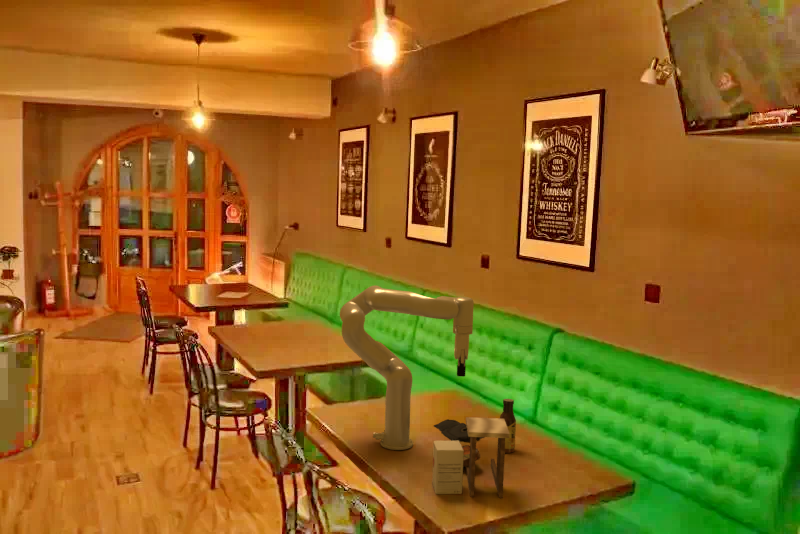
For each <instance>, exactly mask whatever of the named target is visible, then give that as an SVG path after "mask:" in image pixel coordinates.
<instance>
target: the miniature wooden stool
mask: <svg viewBox="0 0 800 534" xmlns="http://www.w3.org/2000/svg"><path fill="white" fill-rule="evenodd" d="M465 424H466V426H467V431H468V436H469V437H470V442H469V446H470V458H469V465H468V466H464V467H465V472H466V478H467V485H468V492H469V496H470V498H474V497H475V486H476V485H475V482H476V480H475V479H476V477H475V476H476V461H475V460H476V448H477V440H476V437H485V438H493V439H495V438H497V451H496V452H497V454H496V455H497V456H496V460H495V458H490V468H491V472H492V476H493V477H492V478H493V479H494V484H495V488H496V493H497V496H498V498H499V499H503V497H504V478H505V476H504V475H505V473H504V472H505V458H506V457H505V454H506V453H505V438H509V437H510V433H509V431H508V428H507V425H506V422H505V420H504V419H500V417H499V418H496V417H494V418H493V417H491V418H490V417H469V416H466V417H465Z"/></svg>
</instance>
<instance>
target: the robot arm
mask: <svg viewBox="0 0 800 534" xmlns="http://www.w3.org/2000/svg"><path fill="white" fill-rule="evenodd" d="M474 302H475V301H474V299H473V298H471V297H468V296H459V297H458V296H457V297H452V296H446V295H441V296H437V297H436V298H434V297H428V296H424V295H422V294H419V293H417V292H414V291H408V290H398V289H392V288H383V287H381V286H379V285H371V286H368V287H367V288H365V289H364V290H362V292H360V293H358V294H357V295H355V297H353V298H351V299H350V300H348V301H347V302H346V303H344V305H342V307H341V308H340V310H339V318H340V319H341V323H342V324H341V335H342V339H343V341H344V343H345V345H346V346H347V347H348V348H349V349H350V350H352V351H353V352H354V353H355V354H356V355H357V356H358V357H359V358H360V359H361V360H362V361H363V362H364V363H366V364H367V366H368V367H370V368H371V369H372V370H374V371H376V372H377V373H378V374H379V375H380V376H382V377H383V378H384V379H385V380H386V392H385V411H384V414H385V415H384V430H383V431H381V432H372V438H375V440H380V446H381V447H383V448H385V449H388V450H392V451H394V450H395V451H405V450H407V449H411V448H412V447H413V446H414V440H413V439H411V438H410V430H411V427H410V425H411V396H412V389H413V375H412V371H411V369H410V368H409V367H408V366H407V365H406V363H405V362H404V361H403V360H401V359H400V358H399V357H398V356H397V355H396V354H395V353H394V352H392V351H391V350H390V349H389V348H388V347H387V346H386V345H384V344H383V343H382V342H380V341H378V340H377V341H376V340H375V339H374V338H373V337H372V336H371V335H370V334H369V333H368V332H366V329H365V328H364V327H365V322H366V316H367V315H368V314H369V313H371V312H372V311H379V312H387V313H388V312H389V313H396V314H398V313H399V314H403V315H404V314H405V315H410V316H416V317H417V316H418V317H424V318H429V319H436V320H438V319H439V320H452V319H453V320H452V324H453V325H452V333H453V334H455V335H454V351H453V352H454V353H453V357H454V359H455V360H456V361H457V365H456V376H457V377H466V369H467V368H466V361H467V360H468V358H469V349H470V335H473V328H474V324H473V323H474V304H475V303H474Z"/></svg>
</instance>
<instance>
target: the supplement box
mask: <svg viewBox="0 0 800 534" xmlns="http://www.w3.org/2000/svg"><path fill="white" fill-rule="evenodd" d="M462 446H463V445H462V444H461V442H459V441H451V440H433V450H432V475H431V476H432V480H431V481H432V482H431V483H432V486H433V490H434V493H435V495H455V494H456V495H458V494H459V495H462V494H463V477H464V476H463V474H464V472H463V471H464V467H463V456H464V450H463V448H462Z"/></svg>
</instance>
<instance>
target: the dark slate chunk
mask: <svg viewBox="0 0 800 534" xmlns="http://www.w3.org/2000/svg"><path fill="white" fill-rule="evenodd" d="M432 427H434V428H436V429H438V431H439V432H441V435H443V436H444V437H446V438H447V439H448V440H449V441H459V442H460V443H462V442H466V443H470V437H469V436H468V431H467V426H466V423H464V422H459V421H458V420H455V419H450V418H449V419H444V420H442V421H440V422H439V423H437V424H434V425H433V426H432ZM485 438H486V437H476V441H479V440H481V439H485Z"/></svg>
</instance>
